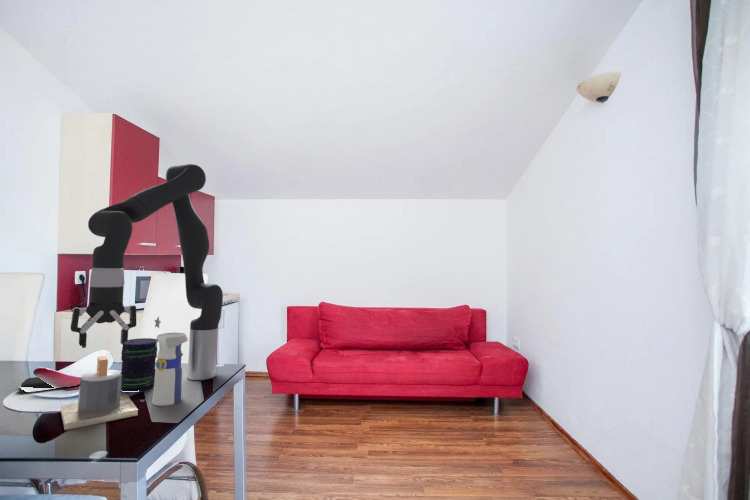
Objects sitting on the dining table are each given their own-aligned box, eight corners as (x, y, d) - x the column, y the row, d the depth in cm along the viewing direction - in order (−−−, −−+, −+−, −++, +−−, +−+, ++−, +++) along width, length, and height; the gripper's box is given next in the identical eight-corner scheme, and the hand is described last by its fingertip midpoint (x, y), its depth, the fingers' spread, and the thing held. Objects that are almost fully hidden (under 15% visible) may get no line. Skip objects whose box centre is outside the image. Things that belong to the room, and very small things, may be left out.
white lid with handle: (82, 396, 95) (84, 363, 96) (79, 387, 101) (81, 357, 102) (122, 389, 101) (124, 359, 101) (117, 381, 107) (119, 353, 107)
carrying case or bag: (81, 379, 129) (22, 386, 120) (81, 370, 130) (23, 376, 120) (81, 387, 121) (18, 396, 112) (82, 378, 121) (19, 385, 112)
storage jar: (161, 384, 126) (164, 338, 127) (142, 394, 116) (145, 344, 117) (132, 382, 127) (135, 337, 127) (111, 392, 117) (114, 343, 117)
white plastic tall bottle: (169, 407, 106) (175, 318, 108) (143, 404, 108) (149, 316, 109) (189, 398, 114) (194, 314, 116) (165, 395, 116) (170, 313, 117)
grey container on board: (60, 411, 101) (63, 375, 102) (126, 399, 111) (128, 366, 112) (64, 430, 90) (67, 389, 91) (137, 415, 100) (139, 379, 101)
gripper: (134, 283, 110) (131, 340, 109) (72, 284, 100) (68, 346, 100) (140, 285, 104) (137, 344, 104) (74, 286, 95) (70, 351, 94)
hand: (103, 345), depth 102 cm, fingers open, 8 cm apart
